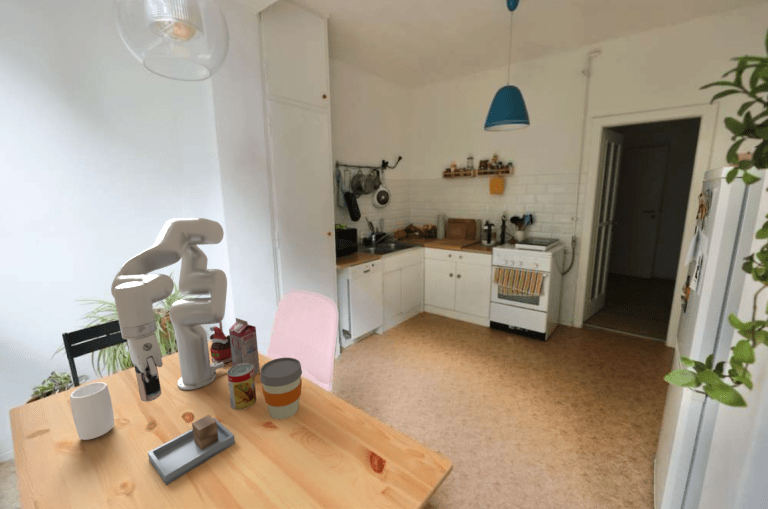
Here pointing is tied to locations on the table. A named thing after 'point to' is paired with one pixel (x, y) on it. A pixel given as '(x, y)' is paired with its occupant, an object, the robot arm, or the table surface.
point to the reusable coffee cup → (281, 386)
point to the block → (205, 432)
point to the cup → (92, 410)
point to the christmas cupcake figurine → (220, 345)
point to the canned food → (241, 386)
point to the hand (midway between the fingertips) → (150, 388)
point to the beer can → (142, 387)
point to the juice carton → (244, 344)
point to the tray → (186, 453)
